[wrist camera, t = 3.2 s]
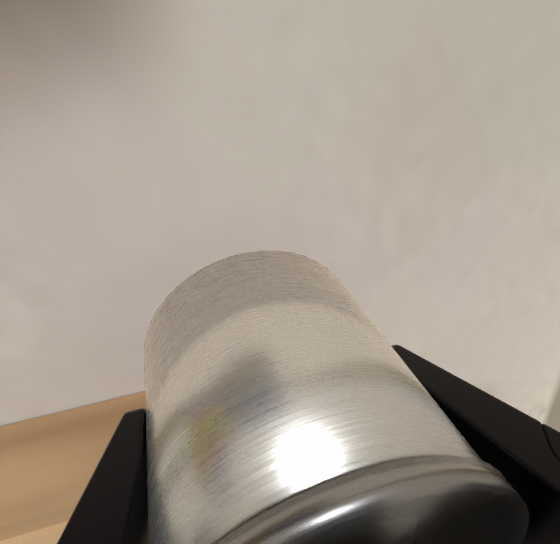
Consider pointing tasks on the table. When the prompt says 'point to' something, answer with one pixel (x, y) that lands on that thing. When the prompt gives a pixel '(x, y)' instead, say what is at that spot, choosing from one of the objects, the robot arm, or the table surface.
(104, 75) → the table surface
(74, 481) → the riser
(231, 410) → the tin
